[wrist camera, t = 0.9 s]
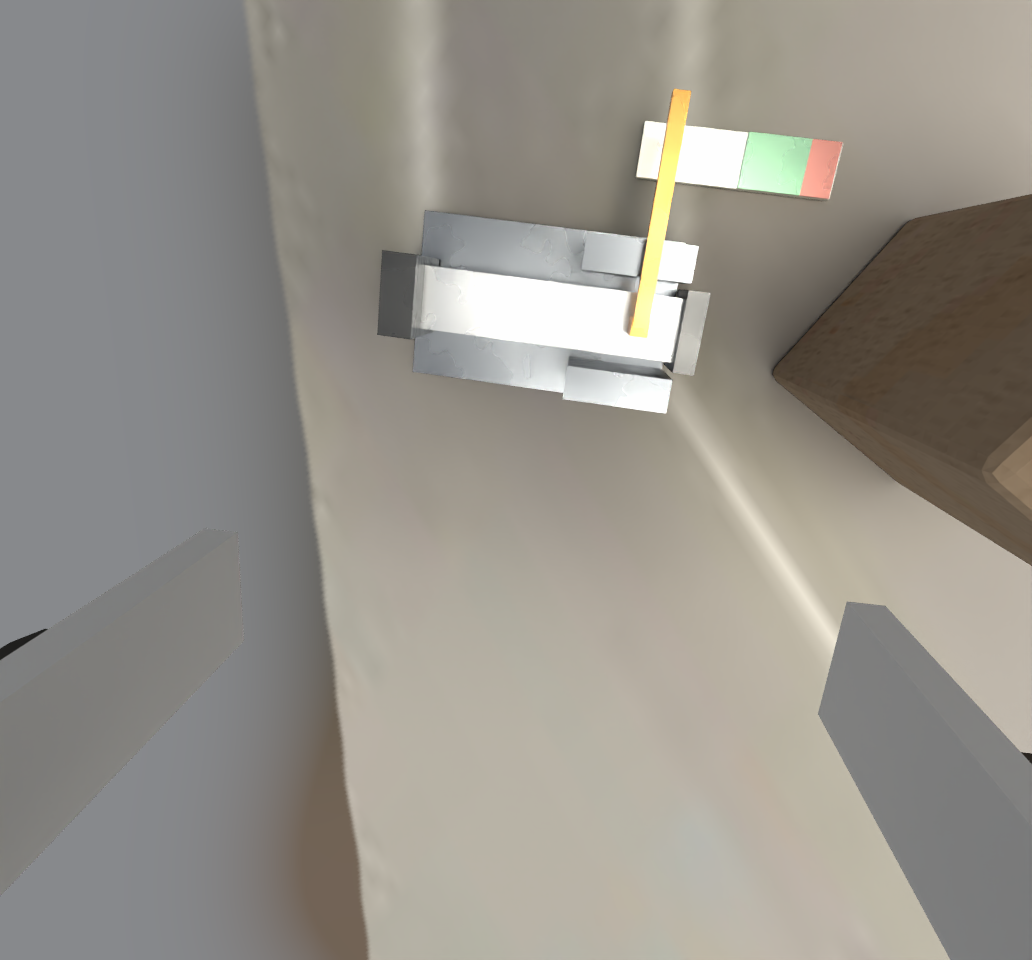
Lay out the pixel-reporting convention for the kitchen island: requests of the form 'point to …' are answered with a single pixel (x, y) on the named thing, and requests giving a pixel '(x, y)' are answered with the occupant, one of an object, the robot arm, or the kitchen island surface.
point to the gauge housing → (607, 264)
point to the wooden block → (937, 366)
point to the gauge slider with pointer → (556, 295)
